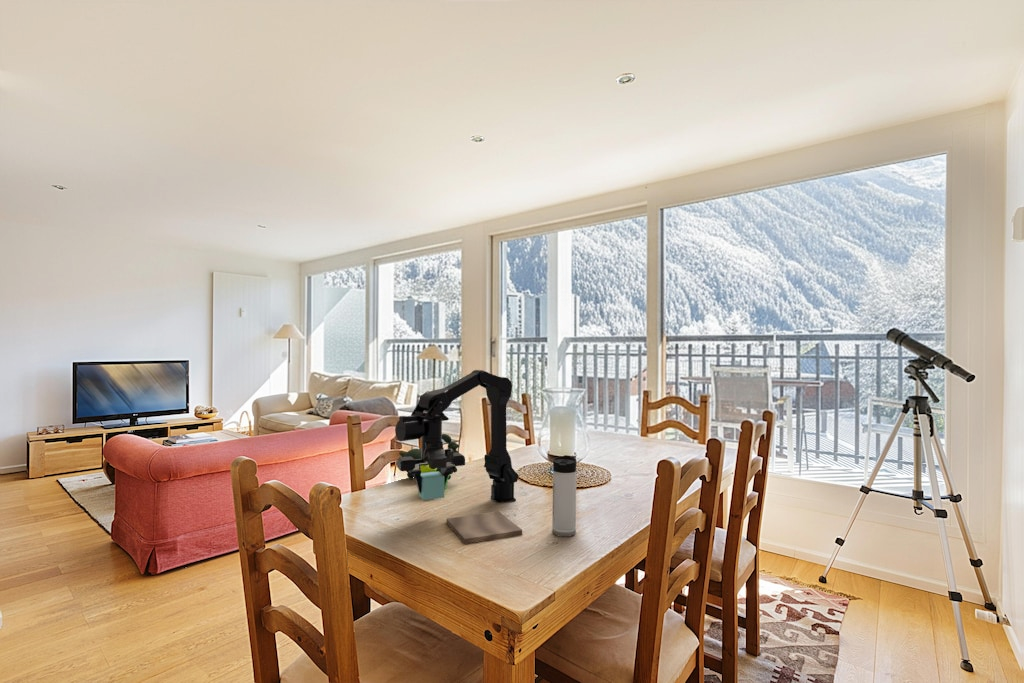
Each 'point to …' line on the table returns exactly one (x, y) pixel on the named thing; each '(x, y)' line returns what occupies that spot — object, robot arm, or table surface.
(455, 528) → the walnut board
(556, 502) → the travel mug
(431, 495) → the teal cube
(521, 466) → the table surface
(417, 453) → the toy figurine
